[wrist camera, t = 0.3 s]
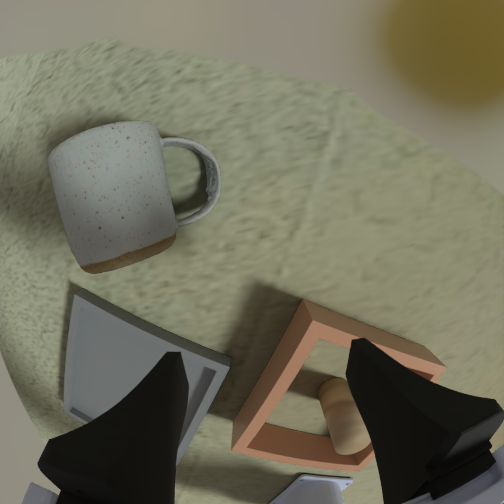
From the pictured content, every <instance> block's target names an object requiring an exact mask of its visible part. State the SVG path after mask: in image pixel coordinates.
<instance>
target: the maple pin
mask: <svg viewBox="0 0 504 504" xmlns="http://www.w3.org/2000/svg"><path fill="white" fill-rule="evenodd" d="M318 397H319V400H320V404H321V407H322V410H323V413H324V417H325V420H326V423H327V426H328V430H329V433H330V436H331V439H332V443H333V446H334V449H335V451H336V452H337V453H338V454H342V455H349V454H353V453H356V452H359V451H361V450H363V449H364V448H365V447H367V446H368V445H369V444H370V442H371V439H370V436H369V434H368V431H367V429H366V426H365V424H364V422H363V420H362V417H361V415H360V413H359V411H358V408H357V406H356V404H355V401H354V399H353V397H352V394H351V392H350V388H349V385H348V382H347V381H346V380H345V379H343V378H338V377H337V378H331V379H329V380H327V381H325V382H324V383H322V385H321V386H320V387H319V389H318Z"/></svg>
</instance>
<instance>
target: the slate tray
mask: <svg viewBox="0 0 504 504" xmlns="http://www.w3.org/2000/svg"><path fill="white" fill-rule="evenodd" d="M166 352H181V354H182V359H183V363H184V367H185V371H186V375H187V379H188V383H189V395H188V405H187V410H186V415H185V419H184V424H183V428H182V432H181V437H180V441H179V446H178V452H177V460H176V466H178V464H179V462H180V460H181V459H182V457H183V455H184V453H185V451H186V449H187V448H188V446H189V444H190V442H191V440H192V439H193V437H194V435H195V433H196V431H197V429H198V427H199V426H200V424H201V422H202V420H203V418H204V416H205V414H206V413H207V411H208V409H209V407H210V405H211V403H212V401H213V399H214V397H215V395H216V394H217V392H218V390H219V388H220V386H221V384H222V382H223V380H224V378H225V376H226V374H227V372H228V370H229V368H230V363H231V357H228V356H226V355H223V354H221V353H218V352H215V351H213V350H210V349H208V348H205V347H203V346H201V345H198V344H196V343H193V342H191V341H189V340H186V339H184V338H182V337H179V336H177V335H175V334H173V333H170V332H168V331H166V330H164V329H162V328H159V327H157V326H155V325H153V324H151V323H149V322H147V321H145V320H142V319H140V318H138V317H136V316H134V315H132V314H130V313H128V312H126V311H124V310H122V309H120V308H118V307H116V306H115V305H113V304H111V303H109V302H107V301H105V300H103V299H101V298H100V297H98V296H96V295H94V294H92V293H90V292H89V291H87V290H85V289H82V290H80V291H78V292H77V293H75V294H74V299H73V305H72V311H71V318H70V325H69V332H68V341H67V350H66V362H65V376H64V413H66V414H67V415H69V416H71V417H72V418H74V419H76V420H77V421H79V422H81V423H83V424H84V425H85V424H87V423H89V422H91V421H92V420H94V419H95V418H97V417H99V416H100V415H102V414H103V413H105V412H106V411H108V410H109V409H111V408H112V407H113V406H114V405H116V404H117V403H118V402H119V401H121V400H122V399H123V398H124V397H125V396H126V395H127V394H128V393H129V392H131V391H132V390H133V389H134V388H135V387H136V386H137V385H138V384H139V383H140V382H141V380H142V379H143V378H144V377H145V376H146V375H147V374H148V373H149V372H150V370H151V369H152V368H153V367H154V366H155V365H156V364H157V362H158V361H159V360H160V359H161V358H162V357H163V355H164V354H165V353H166Z"/></svg>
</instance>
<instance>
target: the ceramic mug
mask: <svg viewBox="0 0 504 504" xmlns="http://www.w3.org/2000/svg"><path fill="white" fill-rule="evenodd" d="M162 147H182V148H187V149H190V150H192V151H194V152H196V153H198V154H199V155H200V156H201V157H202V160H203V161H204V163H205V170H206V176H207V187H206V190H205V191H206V194H208V199H207V201H206V203H205V204H204V205H203V206H202V207H201V209H200V210H199V211H197V212H195V213H194V214H192V215H190V216H188V217H186V218H184V219H180V220H176V218H175V213H174V209H173V205H172V200H171V195H170V191H169V189H168V183H167V177H166V170H165V163H164V159H163V152H162ZM48 167H49V172H50V176H51V180H52V184H53V189H54V193H55V197H56V201H57V205H58V208H59V212H60V215H61V218H62V221H63V225H64V228H65V232H66V236H67V239H68V242H69V245H70V248H71V250H72V253H73V254H74V256H75V258H76V260H77V262H78V264H79V265H80V267H81V268H82V269H83V270H84V271H85V272H88V273H91V274H97V273H103V272H107V271H112V270H115V269H118V268H122V267H125V266H128V265H131V264H134V263H136V262H139V261H142V260H144V259H147V258H150V257H152V256H154V255H156V254H159V253H161V252H162V251H164V250H166V249H168V248H169V247H170V246H171V245H172V244H173V242H174V240H175V238H176V230H177V229H178V228H179V227H180V226H184V225H187V224H190V223H193V222H195V221H197V220H199V219H200V218H202V217H203V216H204V215H206V214H207V213H208V212H209V211H210V210H211V209H212V208H213V206H214V205H215V203H216V202H217V199H218V196H219V194H220V191H221V174H220V167H219V165H218V162H217V160H216V157H215V156H214V155H213V153H212V152H211V151H210V150H209V149H208V148H206V147H205V146H203V145H202V144H200V143H198V142H195V141H194V140H190V139H185V138H179V137H165V138H161V137H160V135H159V131H158V128H157V127H156V125H155V124H153V123H150V122H147V121H133V120H132V121H121V122H114V123H110V124H106V125H101V126H97V127H94V128H91V129H87V130H85V131H83V132H80V133H78V134H76V135H74V136H72V137H70V138H68V139H66V140H65V141H64V142H62V143H61V144H59V145H57V146H56V147H55V148H54V149H53V150H52V151H51V153H50V154H49V156H48Z"/></svg>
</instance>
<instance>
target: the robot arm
mask: <svg viewBox="0 0 504 504" xmlns="http://www.w3.org/2000/svg"><path fill="white" fill-rule="evenodd" d="M346 378H347V381H348V385H349V388H350V392H351V394H352V397H353V399H354V401H355V404H356V406H357V408H358V411H359V413H360V415H361V417H362V420H363V422H364V424H365V426H366V429H367V431H368V434H369V436H370V439H371V443H372V446H373V450H374V454H375V458H376V462H377V466H378V470H379V475H380V481H381V486H382V493H383V501H384V504H503V503H504V445H503V446H501V447H500V448H498V449H497V450H496V451H495V452H494V453H491V452H490V450H489V449H491V447H492V444H491V443H490V441H489V440H490V439H491V437H492V436H493V435H494V433H495V432H496V431H497V429H498V428H499V427H500V425H501V424H502V422H503V420H504V410H503V409H502V408H501V407H500V405H499V404H498V403H497V401H496V400H495V399H489V398H482V397H476V396H472V395H468V394H464V393H460V392H457V391H454V390H451V389H448V388H446V387H443V386H441V385H438V384H436V383H434V382H432V381H430V380H428V379H426V378H424V377H422V376H420V375H418V374H416V373H415V372H413V371H411V370H410V369H408V368H406V367H405V366H403V365H402V364H400V363H399V362H397V361H396V360H395V359H393V358H392V357H390V356H389V355H388V354H386V353H385V352H384V351H382V350H381V349H380V348H378V347H377V346H376V345H374V344H373V343H372V342H370V341H369V340H367V339H366V338H358V339H352V340H351V347H350V353H349V358H348V364H347V369H346ZM188 395H189V383H188V379H187V375H186V371H185V367H184V363H183V359H182V354H181V352H166V353H165V354H164V355H163V357H162V358H161V359H160V360H159V361H158V362H157V364H156V365H155V366H154V367H153V368H152V369H151V370H150V372H149V373H148V374H147V375H146V376H145V377H144V378H143V379H142V380H141V382H140V383H139V384H138V385H137V386H136V387H135V388H134V389H133V390H132V391H131V392H129V393H128V394H127V395H126V396H125V397H124V398H123V399H122V400H121V401H119V402H118V403H117V404H116V405H114V406H113V407H112V408H111V409H109V410H108V411H106V412H105V413H103V414H102V415H100V416H99V417H97V418H95V419H94V420H92V421H91V422H89V423H87V424H85V425H83V426H81V427H79V428H77V429H75V430H73V431H71V432H68V433H66V434H63V435H60V436H58V437H55V438H52V439H49V441H48V443H47V445H46V447H45V449H44V451H43V453H42V455H41V457H40V459H39V461H38V467H39V469H40V471H41V472H42V473H43V474H44V475H45V476H46V477H47V478H48V479H49V480H50V481H52V483H54V484H55V485H56V486H57V487H58V488H59V489H60V490H61V491H60V494H59V495H57V494H56V493H54V492H52V491H50V490H48V489H46V488H43V487H41V486H39V485H37V484H35V483H33V482H32V483H30V485H29V487H28V489H27V492H26V494H25V497H24V499H23V502H22V504H174V498H175V473H176V460H177V452H178V446H179V441H180V437H181V432H182V428H183V424H184V419H185V415H186V410H187V405H188ZM352 482H353V478H339V477H326V476H317V475H308V474H302V475H300V476H299V477H298V478H297V479H296V480H295V481H294V482H293V483H292V484H291V485H290V486H289V487H287V488H286V489H285V490H284V491H283V492H282V493H281V494H280V495H278V496H277V497H276V498H275V499H274V500H273V501H271V502H270V503H269V504H345V502H344V499H343V495H342V491H343V490H344V489H345V488H346V487H348V486H349V485H350V484H351V483H352Z"/></svg>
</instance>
